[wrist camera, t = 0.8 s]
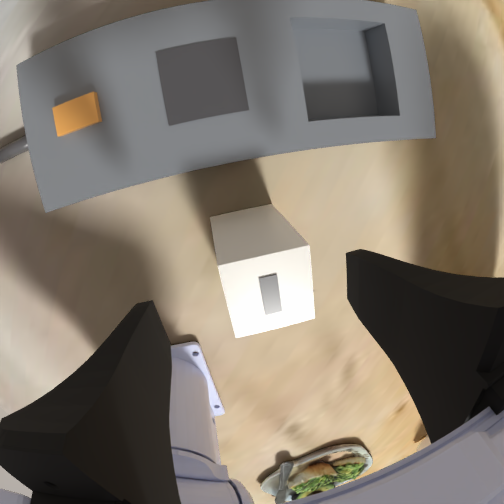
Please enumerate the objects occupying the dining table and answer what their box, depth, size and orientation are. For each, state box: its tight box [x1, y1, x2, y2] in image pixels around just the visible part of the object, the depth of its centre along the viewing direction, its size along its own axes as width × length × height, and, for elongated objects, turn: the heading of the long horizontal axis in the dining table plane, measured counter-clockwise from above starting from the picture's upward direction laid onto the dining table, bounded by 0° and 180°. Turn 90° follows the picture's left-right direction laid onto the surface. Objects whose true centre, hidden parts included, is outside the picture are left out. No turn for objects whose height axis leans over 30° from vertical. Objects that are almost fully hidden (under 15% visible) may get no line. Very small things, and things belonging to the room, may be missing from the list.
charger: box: [210, 204, 315, 338], centre depth 17 cm, size 4×4×7 cm
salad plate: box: [260, 444, 373, 504], centre depth 35 cm, size 19×18×5 cm
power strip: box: [0, 0, 436, 213], centre depth 14 cm, size 28×9×4 cm, turn 99°
